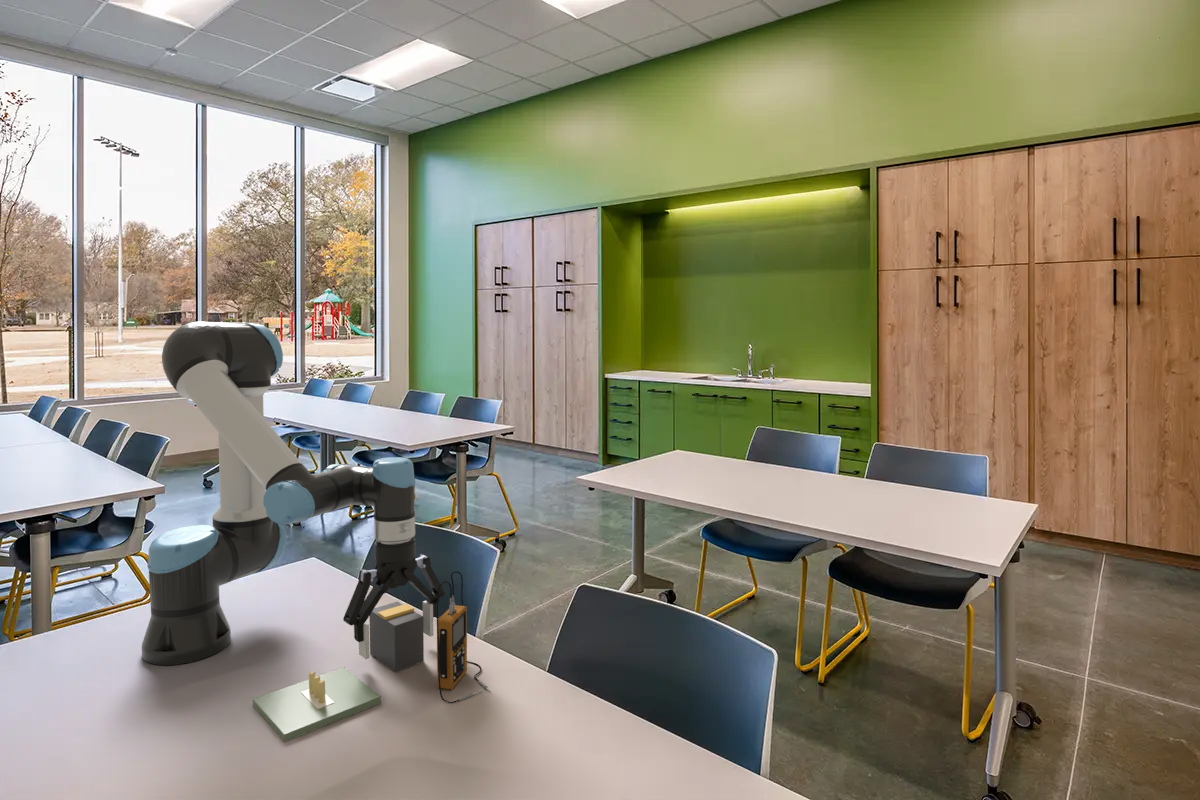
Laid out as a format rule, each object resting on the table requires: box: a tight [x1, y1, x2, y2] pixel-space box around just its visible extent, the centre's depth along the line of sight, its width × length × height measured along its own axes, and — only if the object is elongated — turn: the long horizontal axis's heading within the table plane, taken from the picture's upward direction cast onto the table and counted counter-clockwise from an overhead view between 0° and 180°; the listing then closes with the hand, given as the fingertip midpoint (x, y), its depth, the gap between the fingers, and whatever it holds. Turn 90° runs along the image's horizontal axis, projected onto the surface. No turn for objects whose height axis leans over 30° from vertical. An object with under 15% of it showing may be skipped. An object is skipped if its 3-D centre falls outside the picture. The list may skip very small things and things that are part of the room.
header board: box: [252, 666, 382, 742], centre depth 115 cm, size 14×16×5 cm
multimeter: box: [436, 571, 492, 704], centre depth 122 cm, size 15×10×20 cm
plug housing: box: [369, 601, 425, 673], centre depth 131 cm, size 10×6×10 cm, turn 45°
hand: (397, 644), depth 132 cm, fingers open, 13 cm apart
